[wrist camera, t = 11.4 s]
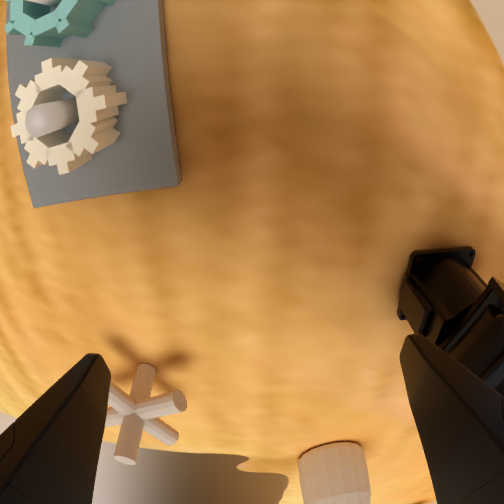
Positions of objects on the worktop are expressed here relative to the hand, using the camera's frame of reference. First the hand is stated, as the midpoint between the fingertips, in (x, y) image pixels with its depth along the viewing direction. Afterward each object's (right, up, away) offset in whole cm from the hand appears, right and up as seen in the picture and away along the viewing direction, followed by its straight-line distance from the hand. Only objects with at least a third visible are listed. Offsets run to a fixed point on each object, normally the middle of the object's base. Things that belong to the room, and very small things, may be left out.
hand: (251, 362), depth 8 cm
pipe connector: (-10, -8, +20) cm, 23 cm away
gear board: (-10, +15, +6) cm, 20 cm away
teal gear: (-11, +18, +3) cm, 21 cm away
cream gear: (-10, +11, +7) cm, 17 cm away
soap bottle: (+12, -27, +31) cm, 42 cm away
